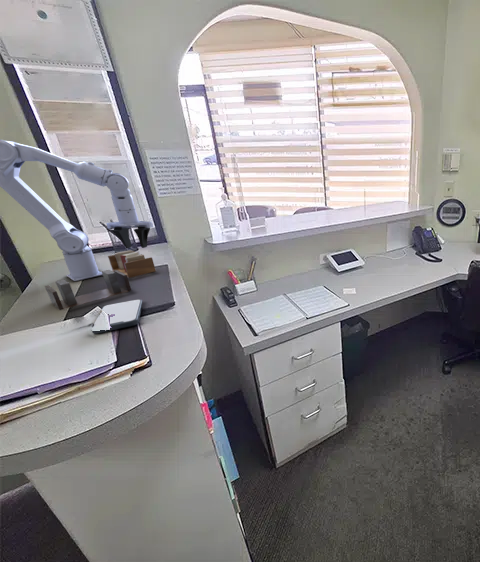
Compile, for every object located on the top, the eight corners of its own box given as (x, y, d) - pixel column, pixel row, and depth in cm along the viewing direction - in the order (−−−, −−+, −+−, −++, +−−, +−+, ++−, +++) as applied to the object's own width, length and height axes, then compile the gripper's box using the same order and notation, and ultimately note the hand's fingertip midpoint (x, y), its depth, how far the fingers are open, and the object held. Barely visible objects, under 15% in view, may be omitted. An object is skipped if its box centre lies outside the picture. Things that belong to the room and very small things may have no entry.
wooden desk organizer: (112, 271, 112) (106, 253, 110) (138, 266, 118) (133, 248, 116) (130, 280, 103) (123, 260, 101) (156, 273, 110) (151, 254, 107)
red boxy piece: (125, 272, 109) (119, 255, 106) (139, 267, 113) (134, 251, 111) (128, 272, 108) (123, 255, 106) (143, 268, 113) (138, 252, 110)
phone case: (104, 310, 82) (91, 336, 70) (102, 305, 82) (88, 329, 69) (144, 303, 87) (139, 325, 74) (142, 298, 86) (137, 319, 73)
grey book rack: (61, 313, 81) (50, 288, 78) (53, 306, 85) (43, 282, 82) (132, 293, 93) (125, 271, 90) (122, 287, 97) (115, 266, 95)
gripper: (95, 211, 104) (107, 250, 109) (139, 211, 105) (150, 249, 110) (110, 208, 111) (122, 245, 116) (152, 208, 112) (161, 244, 116)
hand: (136, 247), depth 113 cm, fingers open, 5 cm apart
